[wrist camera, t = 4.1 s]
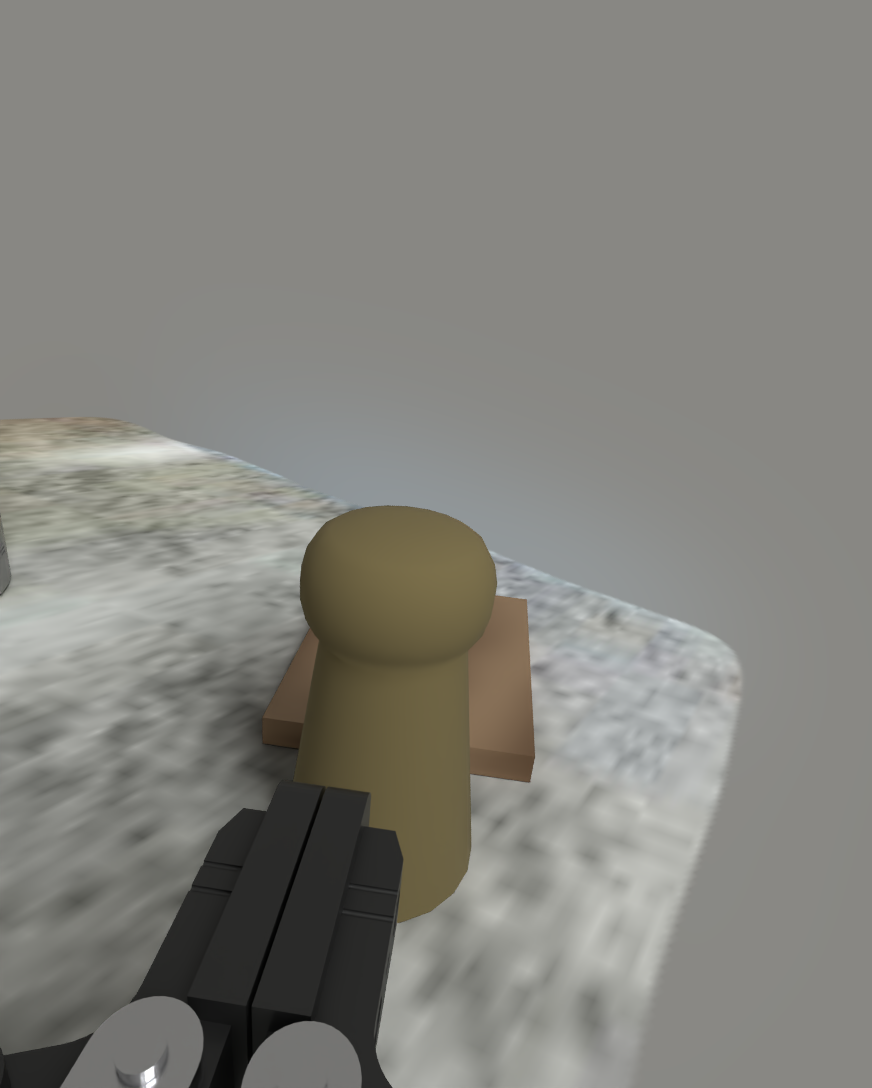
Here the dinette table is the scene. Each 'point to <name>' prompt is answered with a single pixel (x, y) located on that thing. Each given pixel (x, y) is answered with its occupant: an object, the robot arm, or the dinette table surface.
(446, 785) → the cork
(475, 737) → the walnut board
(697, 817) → the dinette table surface
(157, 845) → the dinette table surface
